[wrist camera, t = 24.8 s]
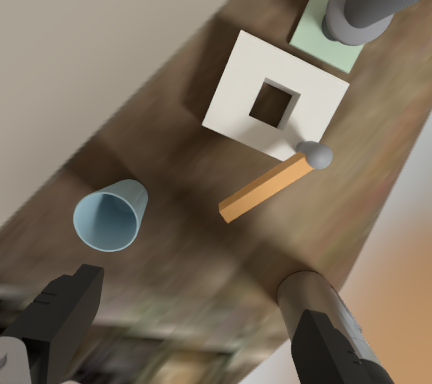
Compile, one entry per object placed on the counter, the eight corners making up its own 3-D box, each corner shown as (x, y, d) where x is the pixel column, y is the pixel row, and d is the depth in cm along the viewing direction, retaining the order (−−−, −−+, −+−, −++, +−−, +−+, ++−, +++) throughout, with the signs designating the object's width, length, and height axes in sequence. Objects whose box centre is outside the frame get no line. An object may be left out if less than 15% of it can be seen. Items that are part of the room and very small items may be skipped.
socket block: (336, 86, 39) (359, 82, 33) (295, 164, 42) (309, 174, 36) (238, 37, 37) (243, 24, 31) (202, 123, 40) (201, 126, 34)
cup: (117, 162, 42) (88, 180, 32) (164, 186, 43) (149, 211, 33) (97, 204, 44) (63, 233, 34) (142, 226, 45) (122, 261, 35)
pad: (383, 4, 36) (385, 2, 36) (346, 73, 39) (348, 73, 38) (322, -29, 35) (324, -31, 34) (288, 44, 37) (289, 43, 37)
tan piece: (313, 136, 34) (325, 139, 31) (324, 154, 35) (337, 160, 32) (216, 199, 36) (216, 209, 33) (228, 216, 37) (229, 227, 34)
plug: (374, 8, 36) (472, -50, 22) (346, 63, 38) (420, 39, 24) (327, -18, 35) (399, -95, 21) (300, 39, 37) (351, 1, 23)
